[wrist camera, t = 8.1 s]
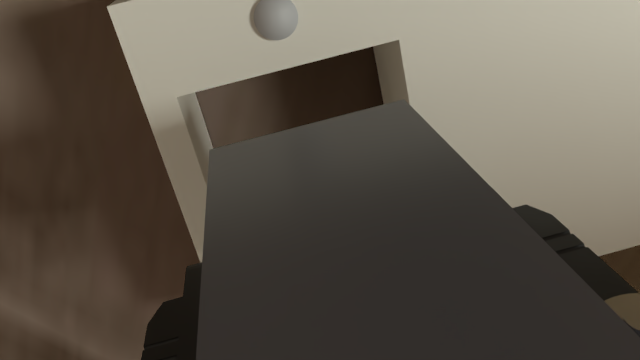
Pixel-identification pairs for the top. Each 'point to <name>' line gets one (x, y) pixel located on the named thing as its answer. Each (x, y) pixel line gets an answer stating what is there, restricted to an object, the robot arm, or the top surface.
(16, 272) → the top surface
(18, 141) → the top surface
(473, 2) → the switch board
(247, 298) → the grey rectangular block
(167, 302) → the robot arm
